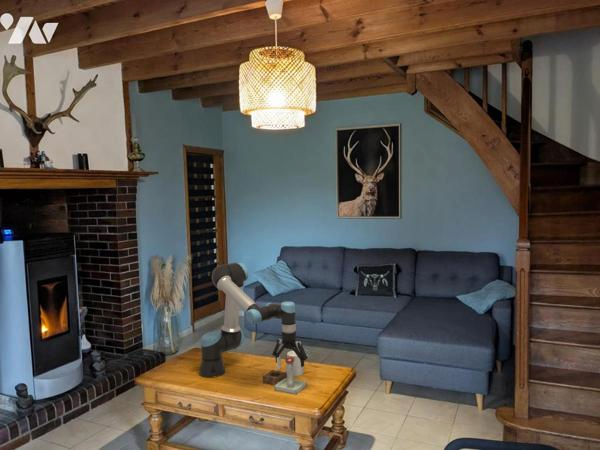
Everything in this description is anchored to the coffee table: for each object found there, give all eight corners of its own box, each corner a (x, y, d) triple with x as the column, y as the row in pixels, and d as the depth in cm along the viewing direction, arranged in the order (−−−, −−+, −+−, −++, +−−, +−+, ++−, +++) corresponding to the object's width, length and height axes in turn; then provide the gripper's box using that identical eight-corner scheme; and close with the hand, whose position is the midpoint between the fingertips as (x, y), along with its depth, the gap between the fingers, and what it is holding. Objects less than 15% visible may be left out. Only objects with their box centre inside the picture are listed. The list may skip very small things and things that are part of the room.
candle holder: (302, 377, 261) (302, 356, 260) (286, 376, 263) (285, 355, 262) (306, 370, 271) (305, 350, 270) (289, 370, 273) (289, 350, 272)
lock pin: (284, 387, 245) (283, 359, 244) (288, 384, 249) (288, 356, 248) (292, 389, 242) (291, 360, 242) (296, 386, 247) (295, 357, 246)
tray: (274, 390, 243) (274, 385, 243) (285, 382, 254) (285, 377, 254) (295, 394, 237) (295, 390, 237) (306, 386, 248) (306, 381, 248)
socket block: (262, 383, 254) (262, 376, 254) (272, 376, 263) (272, 370, 262) (278, 386, 249) (278, 378, 249) (287, 379, 258) (287, 372, 258)
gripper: (265, 330, 247) (266, 369, 248) (306, 335, 235) (307, 376, 236) (272, 327, 253) (273, 364, 254) (313, 332, 241) (314, 371, 243)
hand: (290, 370), depth 245 cm, fingers open, 13 cm apart
